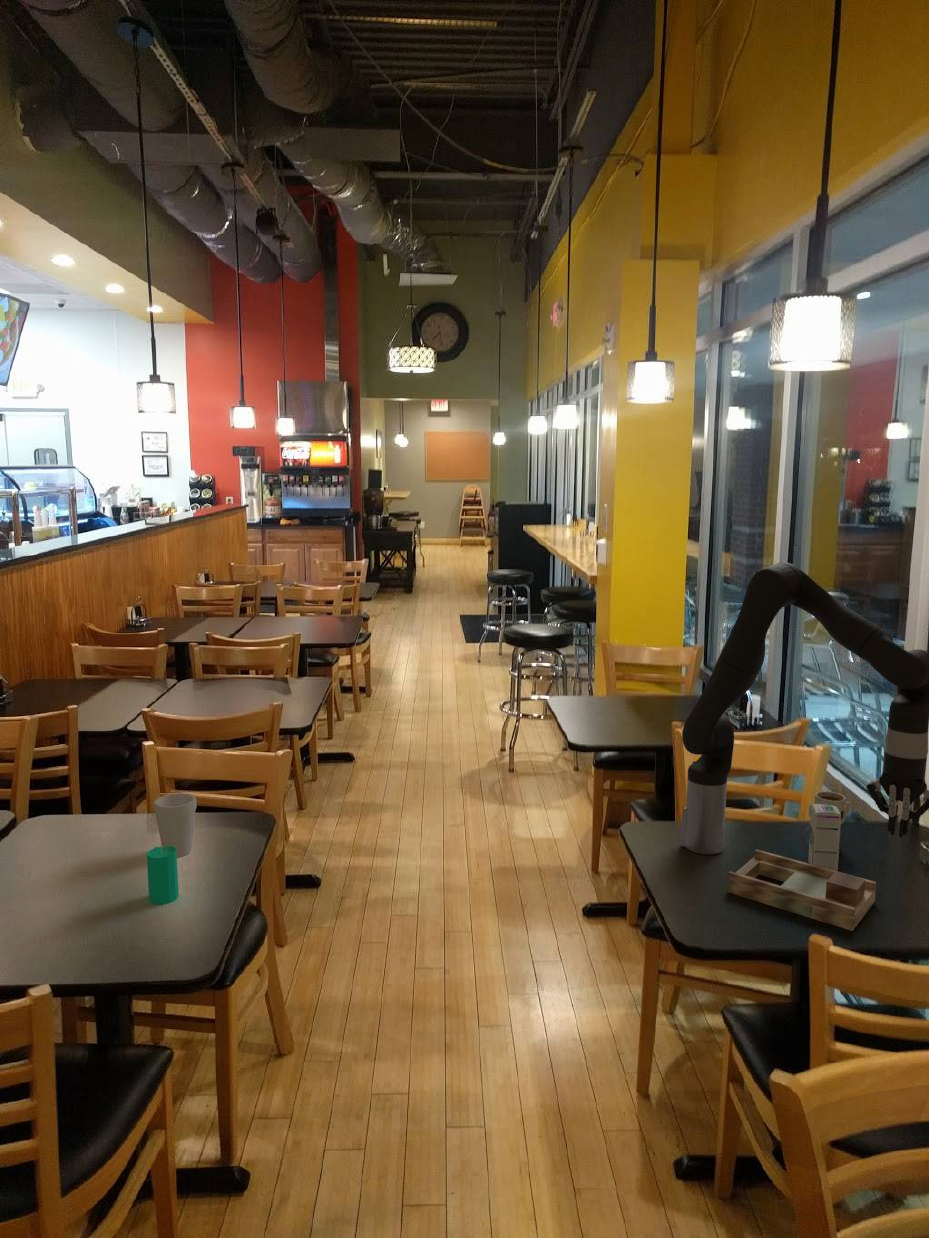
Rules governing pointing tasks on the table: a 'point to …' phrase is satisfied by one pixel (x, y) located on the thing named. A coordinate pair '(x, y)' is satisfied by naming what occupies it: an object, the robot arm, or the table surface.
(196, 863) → the table surface
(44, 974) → the table surface
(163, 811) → the foam cup
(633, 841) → the table surface
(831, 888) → the walnut block
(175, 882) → the candle
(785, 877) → the tray
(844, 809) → the character mug
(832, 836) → the syrup box
